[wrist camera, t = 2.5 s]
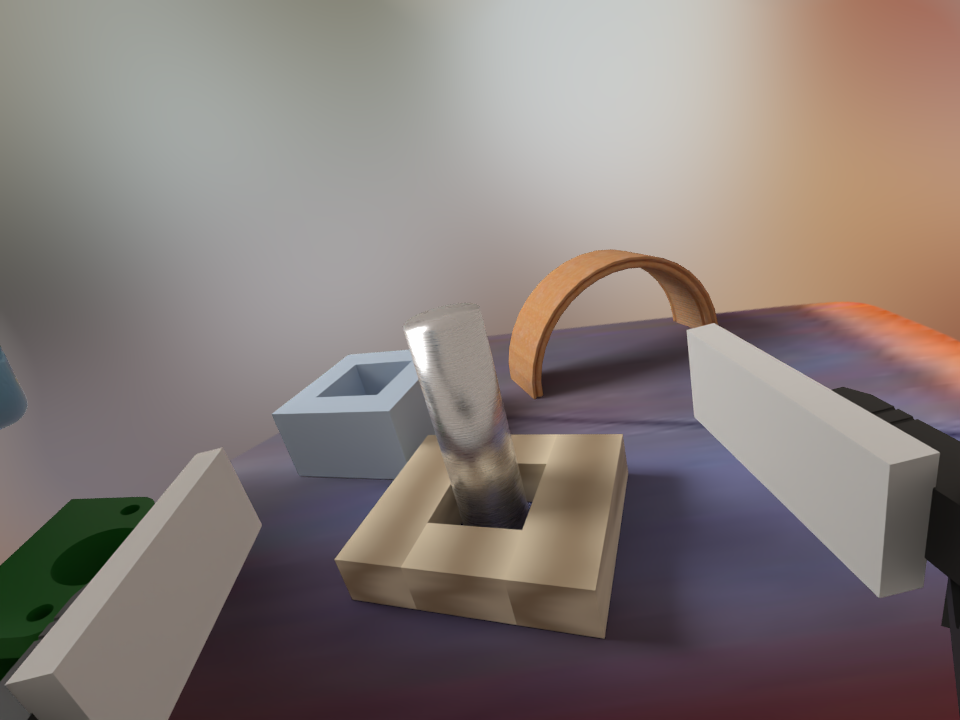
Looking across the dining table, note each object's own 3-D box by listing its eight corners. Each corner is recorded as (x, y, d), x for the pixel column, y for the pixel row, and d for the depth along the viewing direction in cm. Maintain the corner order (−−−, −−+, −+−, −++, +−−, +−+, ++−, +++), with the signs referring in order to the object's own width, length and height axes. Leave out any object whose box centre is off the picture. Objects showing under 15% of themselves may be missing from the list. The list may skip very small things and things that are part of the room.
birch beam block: (352, 599, 28) (334, 559, 27) (438, 468, 38) (427, 434, 37) (604, 638, 23) (595, 590, 22) (628, 473, 33) (622, 434, 32)
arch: (719, 332, 49) (714, 229, 45) (533, 401, 45) (511, 295, 41) (680, 318, 54) (672, 225, 51) (510, 378, 50) (488, 283, 46)
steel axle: (458, 553, 30) (388, 336, 24) (481, 507, 33) (423, 307, 28) (523, 560, 28) (462, 329, 23) (539, 511, 31) (490, 299, 26)
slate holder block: (299, 475, 42) (271, 414, 40) (367, 407, 51) (348, 354, 49) (412, 480, 38) (389, 411, 35) (465, 405, 47) (449, 346, 45)
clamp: (117, 716, 30) (28, 676, 24) (10, 723, 30) (-110, 684, 23) (186, 527, 39) (135, 460, 32) (104, 531, 38) (34, 463, 32)
